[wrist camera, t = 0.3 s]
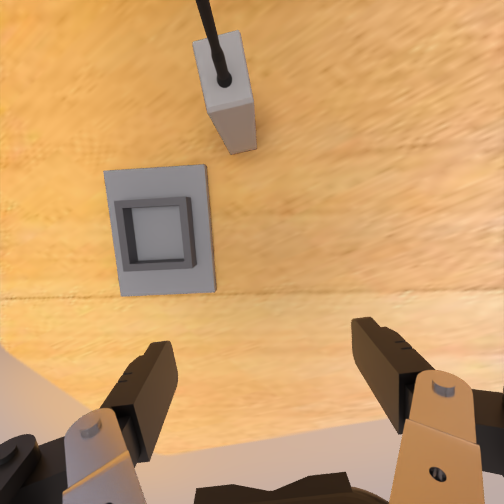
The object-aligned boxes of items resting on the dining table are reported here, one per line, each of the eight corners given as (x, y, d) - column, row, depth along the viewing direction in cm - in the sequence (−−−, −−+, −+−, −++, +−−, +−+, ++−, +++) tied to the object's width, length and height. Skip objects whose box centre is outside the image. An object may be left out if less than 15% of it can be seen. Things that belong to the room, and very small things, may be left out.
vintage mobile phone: (249, 111, 36) (224, -102, 11) (257, 149, 37) (249, 26, 12) (222, 118, 36) (141, -78, 11) (230, 155, 37) (170, 47, 12)
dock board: (109, 172, 38) (91, 168, 34) (206, 166, 37) (200, 161, 33) (126, 293, 41) (111, 302, 37) (216, 289, 40) (211, 298, 36)
